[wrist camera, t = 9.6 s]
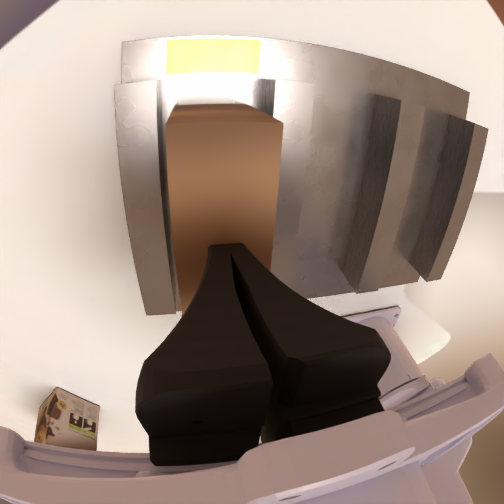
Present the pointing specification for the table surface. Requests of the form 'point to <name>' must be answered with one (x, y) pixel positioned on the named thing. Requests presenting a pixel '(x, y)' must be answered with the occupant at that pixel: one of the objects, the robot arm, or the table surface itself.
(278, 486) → the robot arm
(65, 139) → the table surface
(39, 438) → the coffee box
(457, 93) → the rack
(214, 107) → the brown wooden block
